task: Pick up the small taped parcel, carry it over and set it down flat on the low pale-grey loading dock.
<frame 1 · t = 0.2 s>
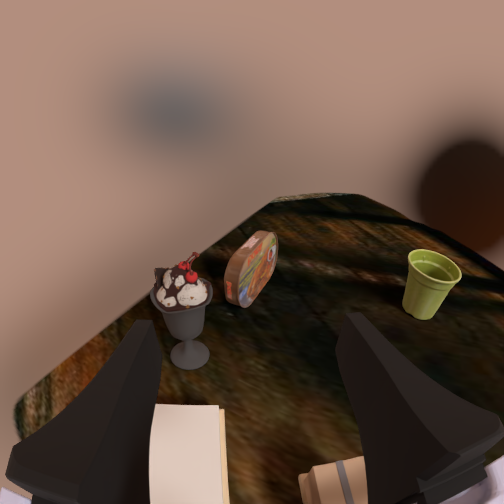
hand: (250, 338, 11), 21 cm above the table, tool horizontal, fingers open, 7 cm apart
dock: (184, 491, 21), on the table
plant pot: (418, 309, 45), on the table
sundae: (190, 355, 37), on the table
tin: (252, 289, 49), on the table
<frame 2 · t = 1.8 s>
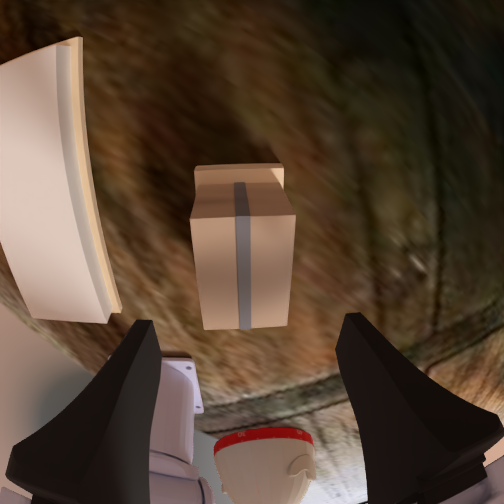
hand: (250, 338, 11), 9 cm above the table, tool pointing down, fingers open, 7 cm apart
dock: (44, 194, 16), on the table
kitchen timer: (263, 445, 37), on the table
taped parcel: (239, 226, 19), on the table
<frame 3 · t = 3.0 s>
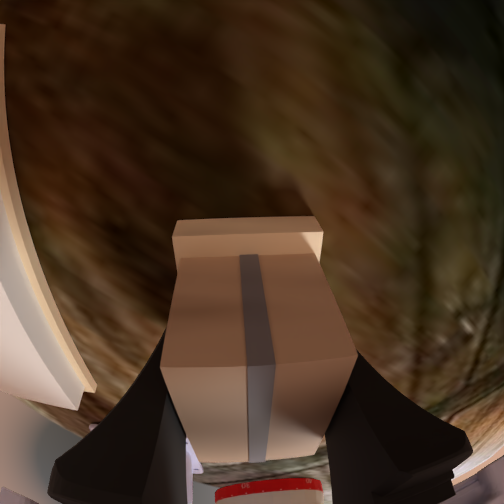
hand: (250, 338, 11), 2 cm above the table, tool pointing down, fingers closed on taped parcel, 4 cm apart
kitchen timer: (268, 490, 31), on the table
taped parcel: (247, 305, 13), on the table, touching gripper
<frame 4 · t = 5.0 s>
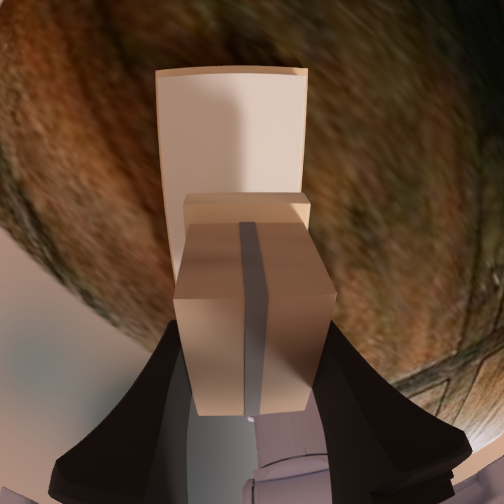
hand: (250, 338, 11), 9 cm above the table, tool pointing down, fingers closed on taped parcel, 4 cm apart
dock: (232, 223, 19), on the table
taped parcel: (244, 273, 14), point 5 cm above the table, touching gripper
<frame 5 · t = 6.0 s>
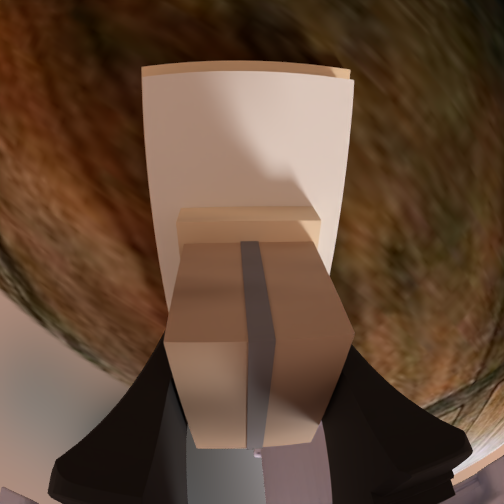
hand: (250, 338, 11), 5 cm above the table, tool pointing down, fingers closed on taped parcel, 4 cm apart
dock: (244, 268, 15), on the table
taped parcel: (246, 294, 13), point 2 cm above the table, touching dock, gripper
when the fingers open (5 cm above the table, at t = 6.4 s): taped parcel stays where it is, resting on dock.
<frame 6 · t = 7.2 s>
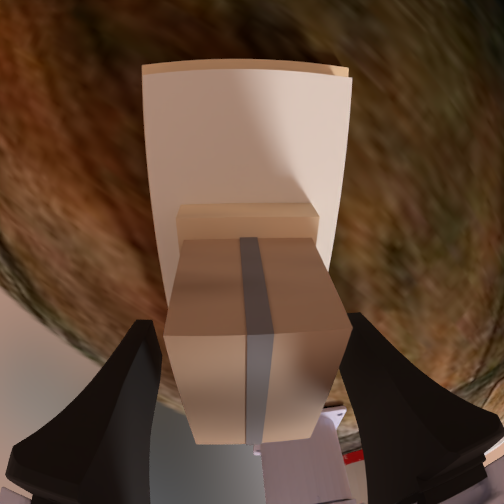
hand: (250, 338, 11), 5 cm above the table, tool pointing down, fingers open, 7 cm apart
dock: (243, 264, 15), on the table
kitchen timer: (350, 463, 36), on the table
taped parcel: (245, 290, 13), point 2 cm above the table, touching dock
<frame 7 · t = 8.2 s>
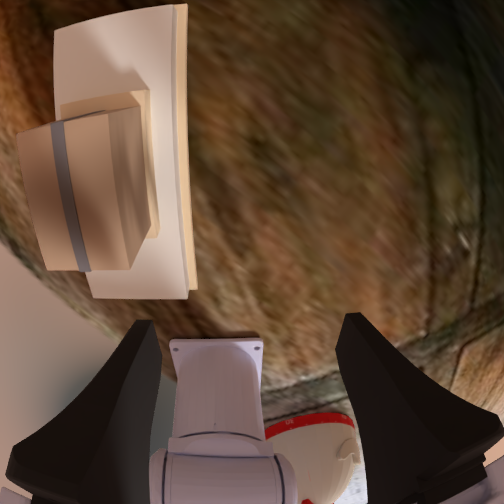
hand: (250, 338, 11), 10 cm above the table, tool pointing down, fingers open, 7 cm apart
dock: (126, 159, 17), on the table
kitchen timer: (305, 434, 37), on the table
taped parcel: (113, 165, 15), point 2 cm above the table, touching dock
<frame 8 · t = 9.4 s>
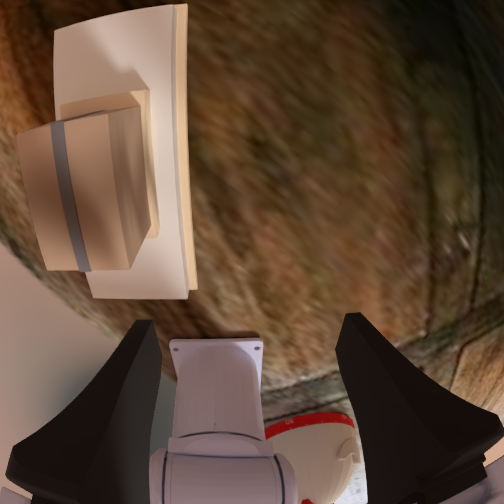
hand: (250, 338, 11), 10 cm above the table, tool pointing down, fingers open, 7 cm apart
dock: (126, 159, 17), on the table
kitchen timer: (305, 434, 37), on the table
taped parcel: (113, 165, 15), point 2 cm above the table, touching dock
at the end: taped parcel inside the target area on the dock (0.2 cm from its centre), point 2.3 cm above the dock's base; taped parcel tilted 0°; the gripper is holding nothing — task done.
